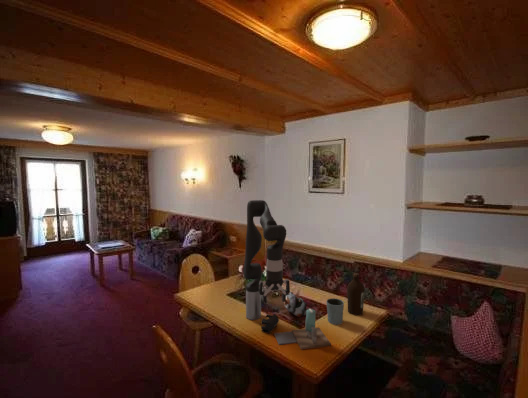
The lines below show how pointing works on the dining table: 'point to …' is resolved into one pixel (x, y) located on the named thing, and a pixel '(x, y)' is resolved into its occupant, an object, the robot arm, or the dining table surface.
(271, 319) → the black lumpy shape
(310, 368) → the dining table surface
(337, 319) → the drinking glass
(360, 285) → the olive oil
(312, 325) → the teal teardrop shape
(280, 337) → the mat
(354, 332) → the dining table surface
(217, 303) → the dining table surface
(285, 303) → the lucky cat figurine
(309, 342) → the square mounting plate
